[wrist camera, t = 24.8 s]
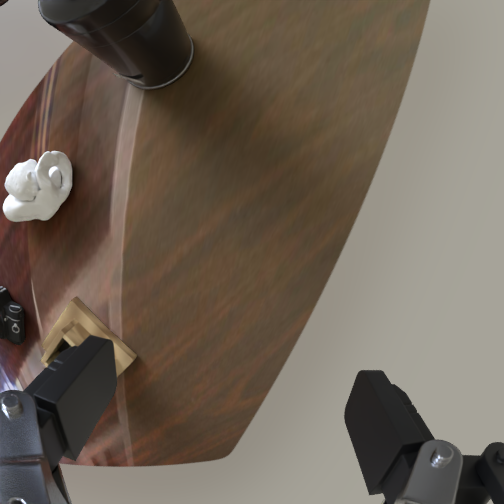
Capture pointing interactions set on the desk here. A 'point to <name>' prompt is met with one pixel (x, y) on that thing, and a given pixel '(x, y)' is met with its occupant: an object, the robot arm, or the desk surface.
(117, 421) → the desk surface
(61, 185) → the white looped sculpture
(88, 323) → the display stand
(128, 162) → the desk surface
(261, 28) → the desk surface
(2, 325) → the film camera
